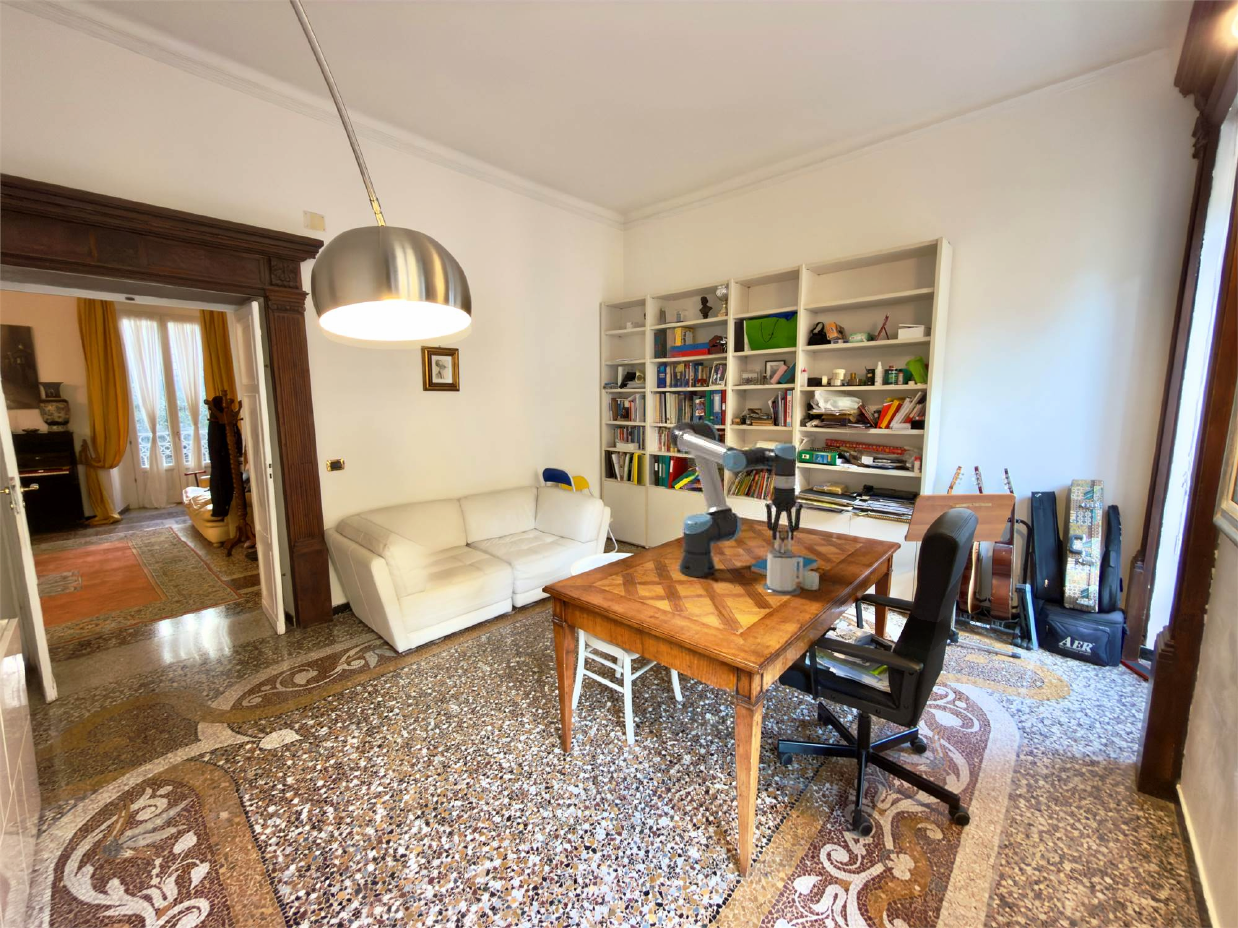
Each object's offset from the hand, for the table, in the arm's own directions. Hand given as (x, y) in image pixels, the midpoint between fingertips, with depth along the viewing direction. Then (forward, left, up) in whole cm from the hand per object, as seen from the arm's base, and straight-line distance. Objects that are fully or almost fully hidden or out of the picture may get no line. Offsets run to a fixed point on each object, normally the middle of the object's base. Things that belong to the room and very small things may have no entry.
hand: (782, 548), depth 179 cm
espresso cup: (-1, +11, -16) cm, 20 cm away
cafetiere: (0, +1, -15) cm, 15 cm away
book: (-21, +7, -17) cm, 28 cm away
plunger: (0, 0, -9) cm, 9 cm away
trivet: (0, 0, -16) cm, 16 cm away
